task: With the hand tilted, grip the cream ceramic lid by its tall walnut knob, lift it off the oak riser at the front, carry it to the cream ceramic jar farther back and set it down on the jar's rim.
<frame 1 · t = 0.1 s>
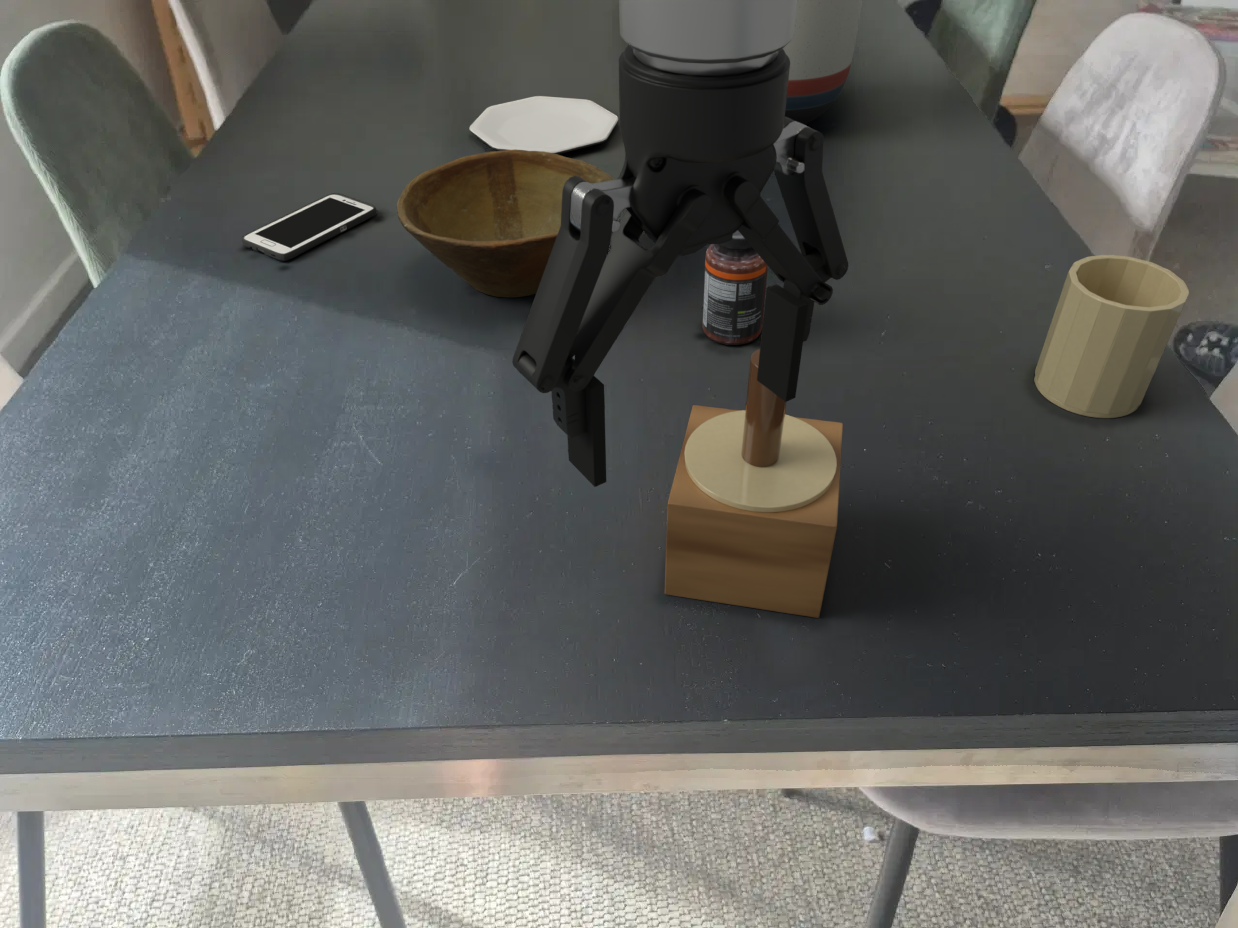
hand: (686, 428, 55), 17 cm above the table, tool pointing down, fingers open, 13 cm apart
jar: (1087, 387, 87), on the table
supplement bottle: (731, 333, 94), on the table
cell phone: (312, 231, 112), on the table
riser: (749, 551, 71), on the table
bowl: (517, 279, 103), on the table
lid: (759, 460, 65), point 9 cm above the table, touching riser
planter: (771, 123, 136), on the table
plate: (545, 134, 134), on the table
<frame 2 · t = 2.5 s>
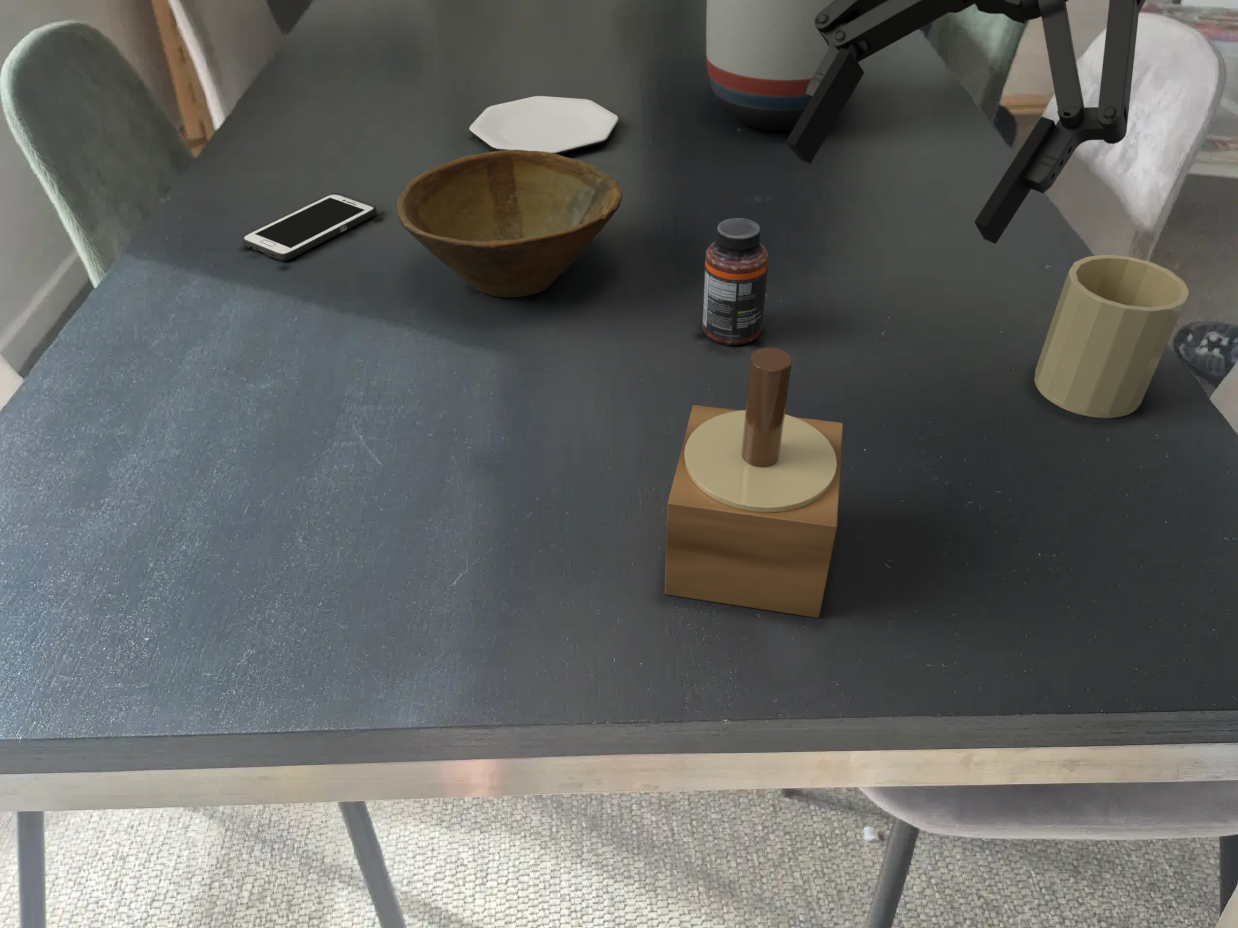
hand: (885, 191, 57), 27 cm above the table, tool tilted 40°, fingers open, 13 cm apart
nothing on the table moved.
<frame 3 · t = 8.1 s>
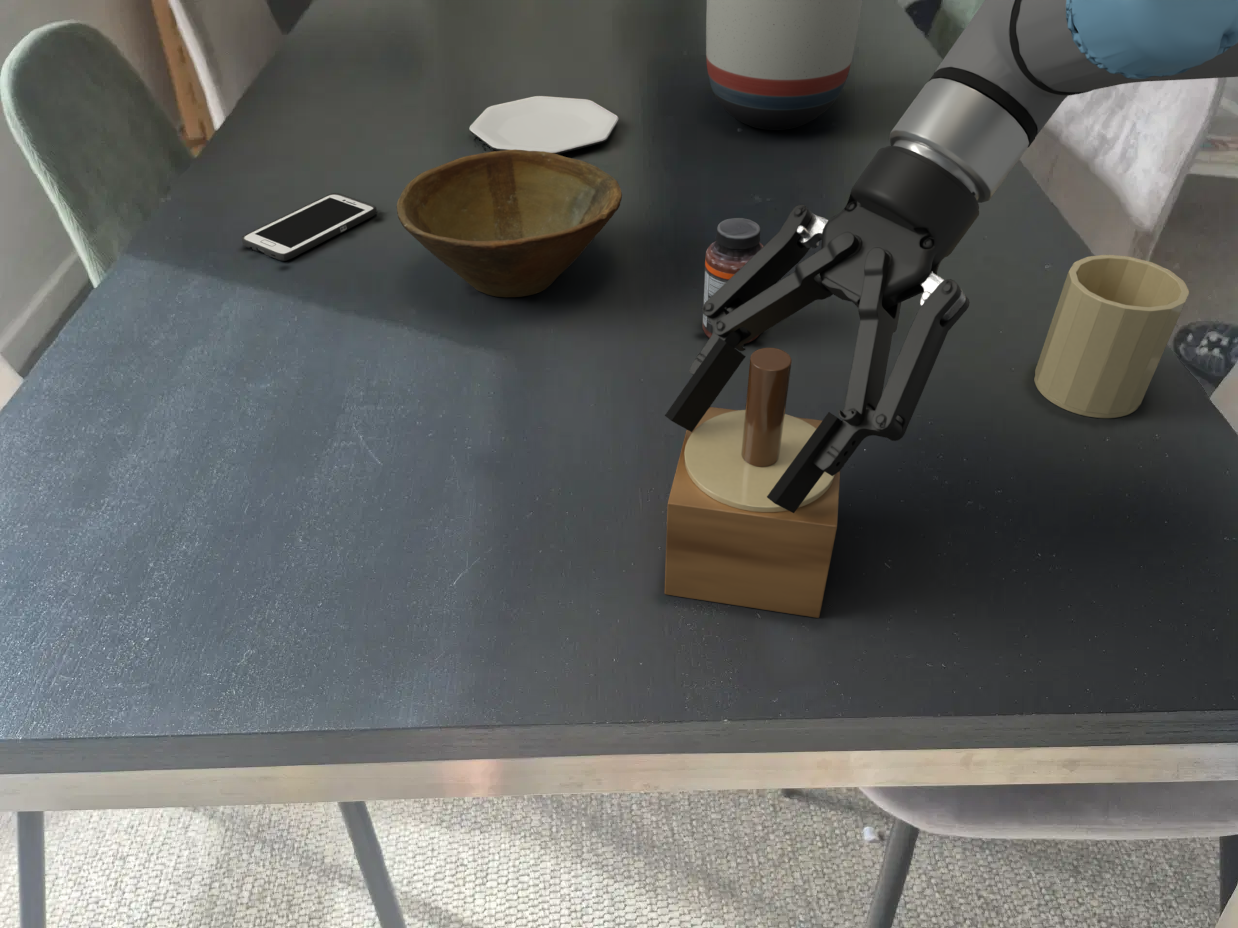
hand: (726, 462, 63), 10 cm above the table, tool tilted 45°, fingers closed on lid, 10 cm apart
lid: (759, 460, 65), point 9 cm above the table, touching gripper, riser
everything else where it was.
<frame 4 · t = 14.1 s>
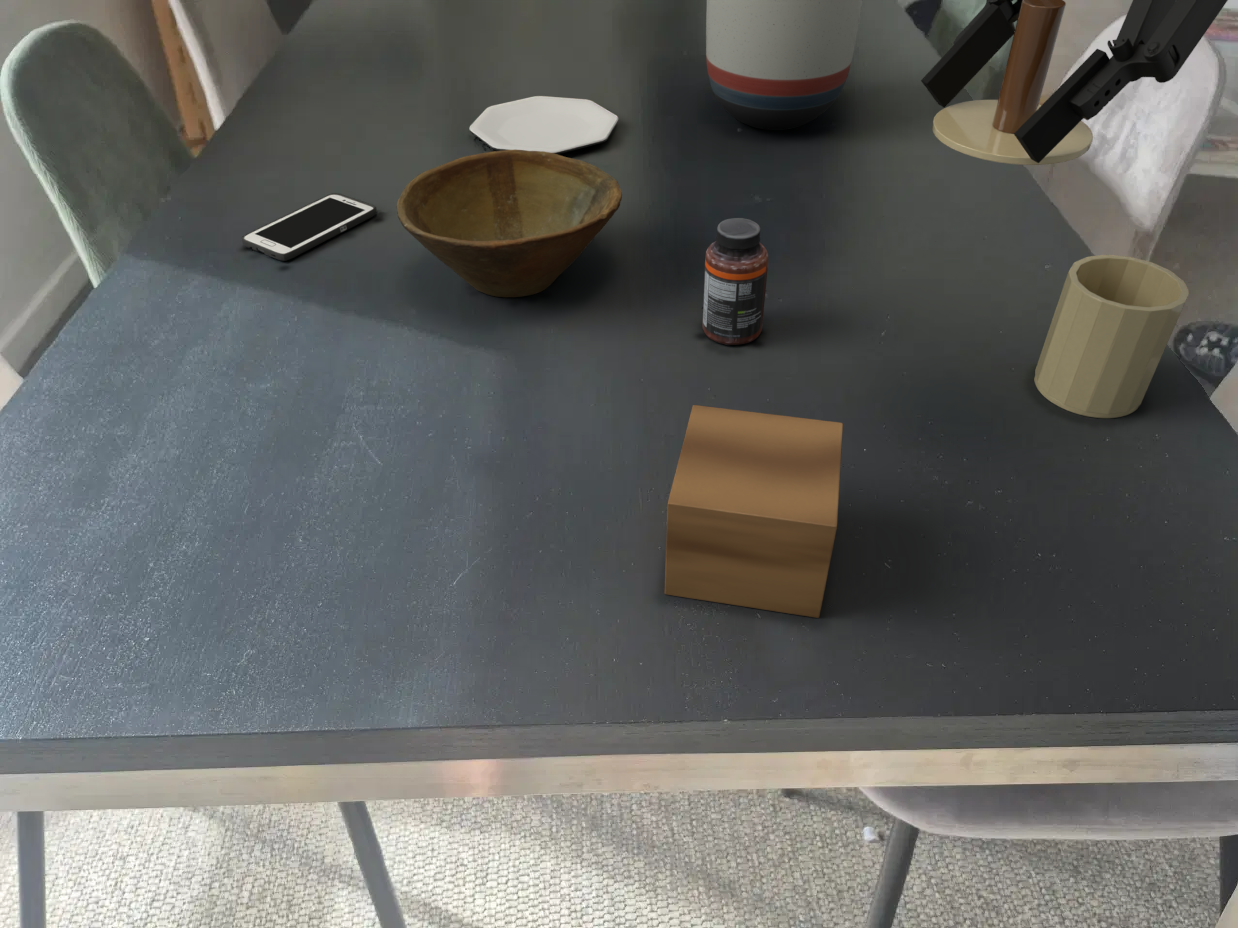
hand: (976, 120, 64), 27 cm above the table, tool tilted 45°, fingers closed on lid, 10 cm apart
lid: (1010, 134, 65), point 26 cm above the table, touching gripper
everything else where it was.
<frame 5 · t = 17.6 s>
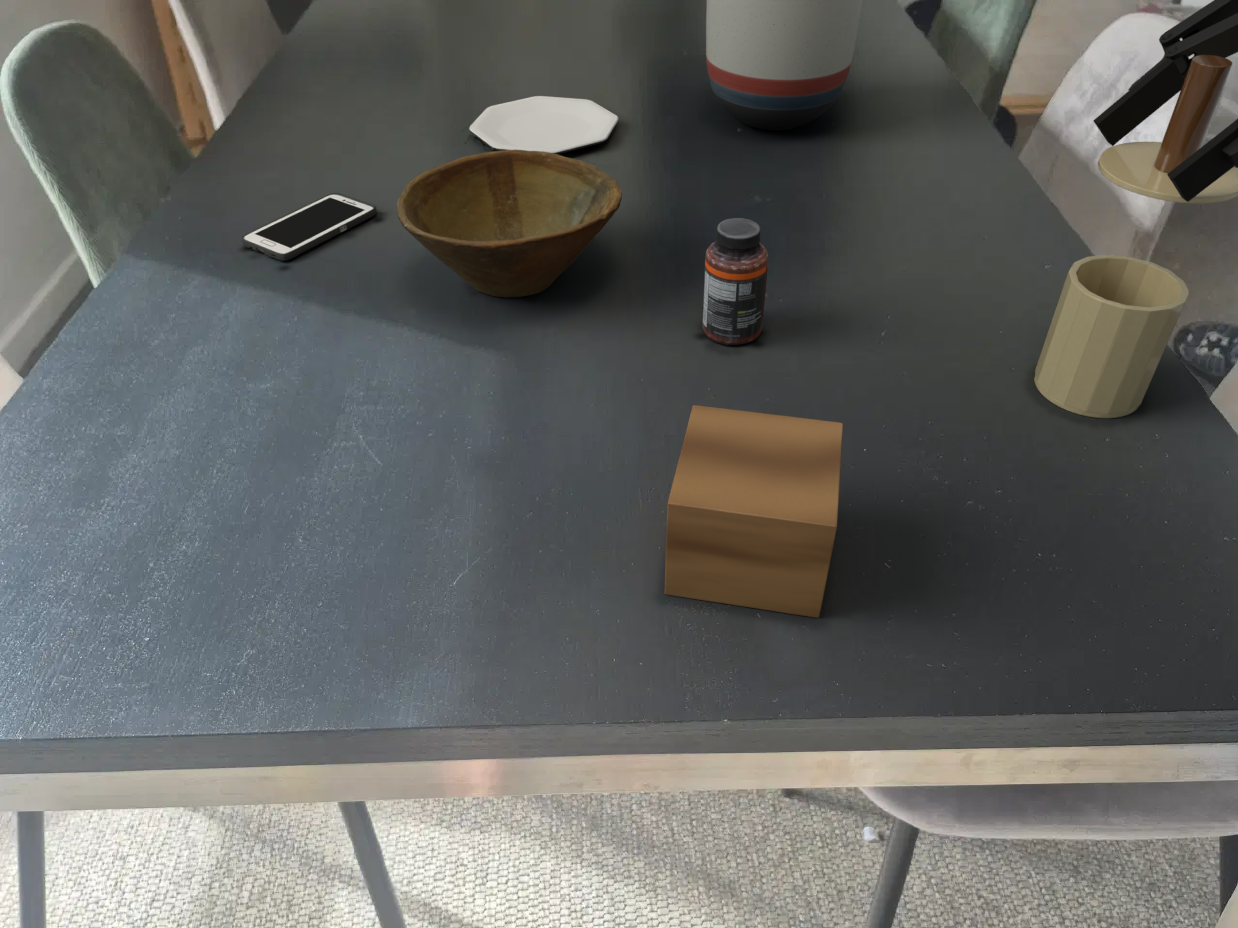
hand: (1138, 159, 72), 22 cm above the table, tool tilted 45°, fingers closed on lid, 10 cm apart
lid: (1169, 174, 73), point 20 cm above the table, touching gripper
everything else where it was.
when the fingers open (12 cm above the table, at t = 20.6 s): lid stays where it is, resting on jar.
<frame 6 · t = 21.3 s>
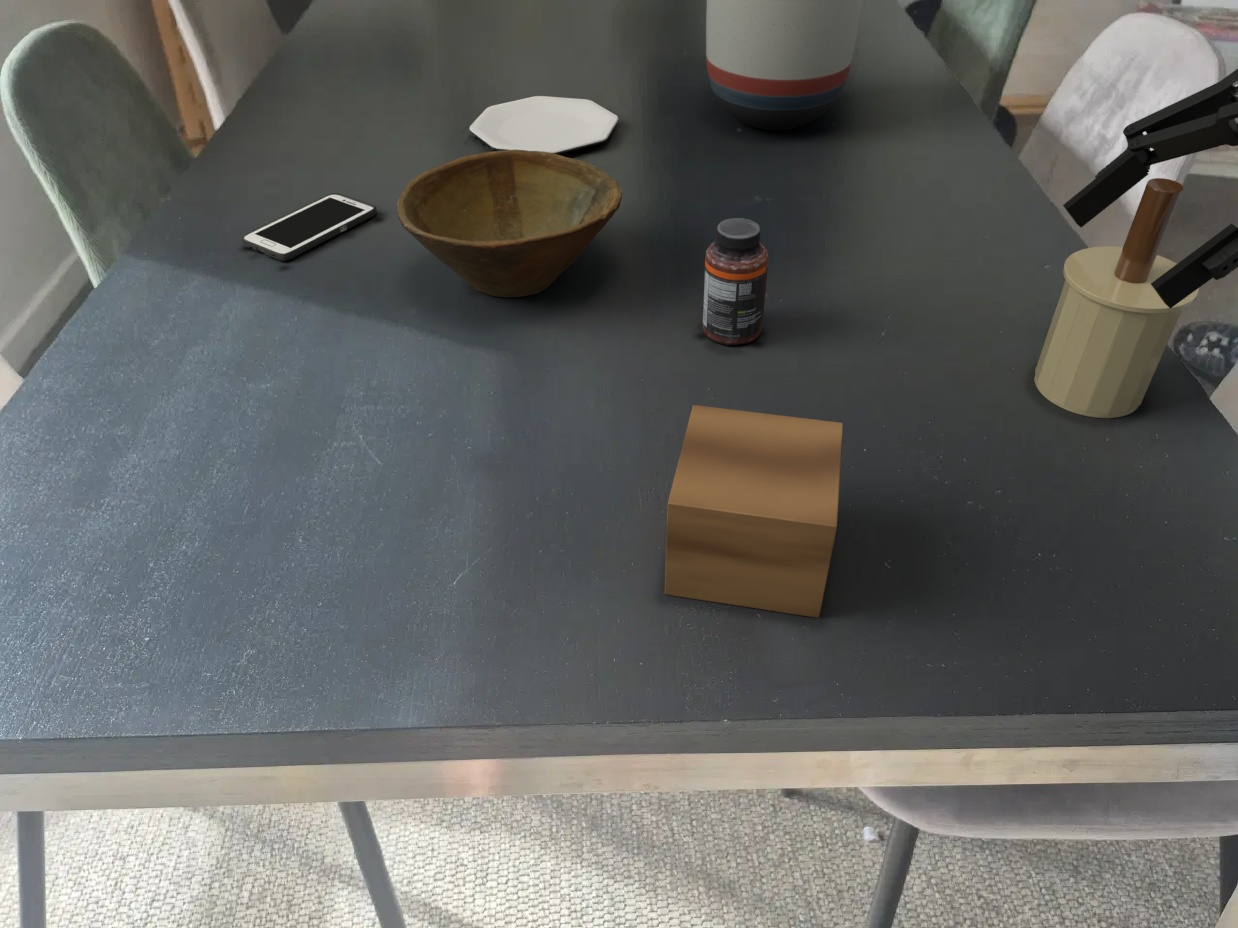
hand: (1112, 254, 78), 14 cm above the table, tool tilted 45°, fingers open, 13 cm apart
lid: (1128, 281, 80), point 11 cm above the table, touching jar
everything else where it was.
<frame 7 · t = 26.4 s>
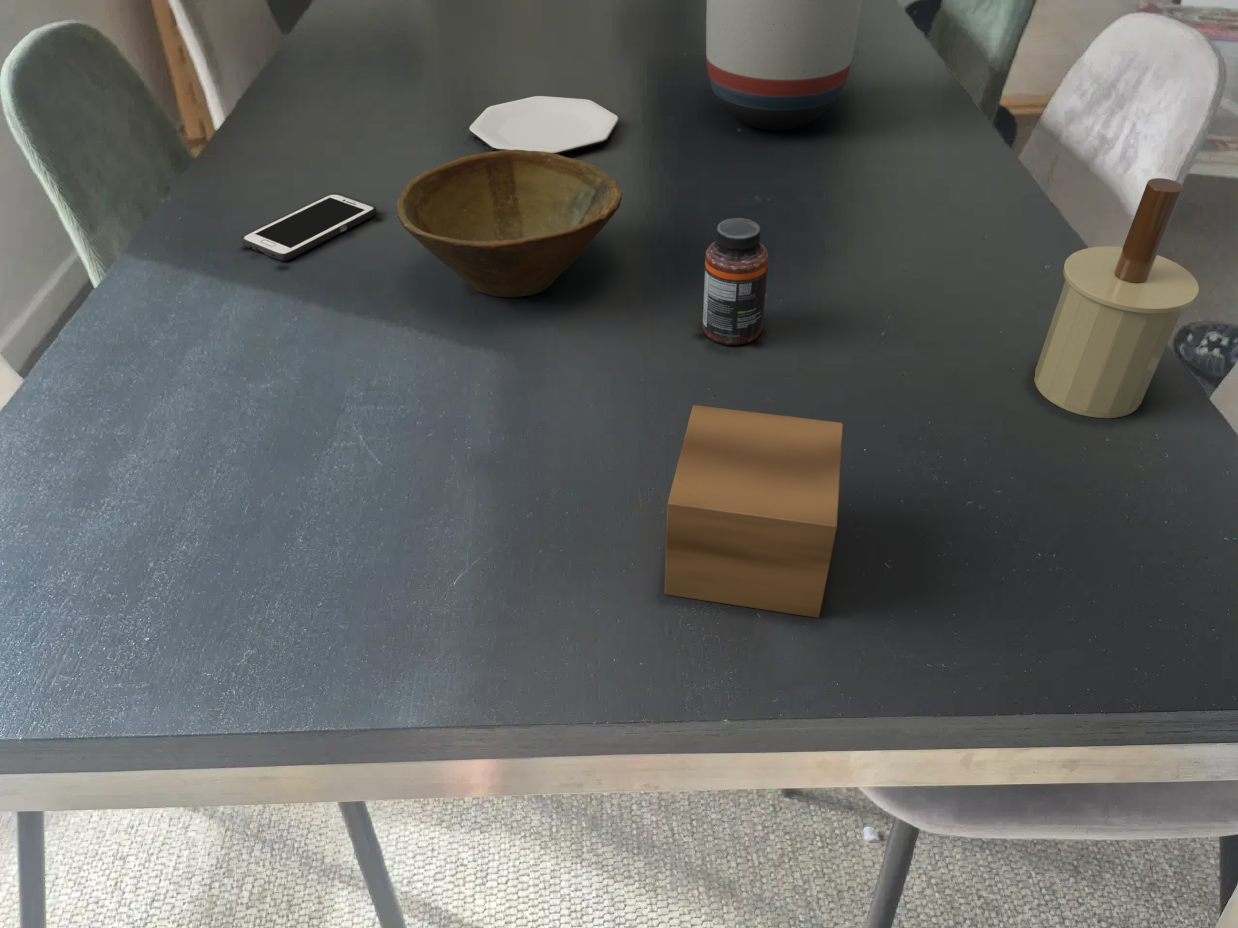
nothing on the table moved.
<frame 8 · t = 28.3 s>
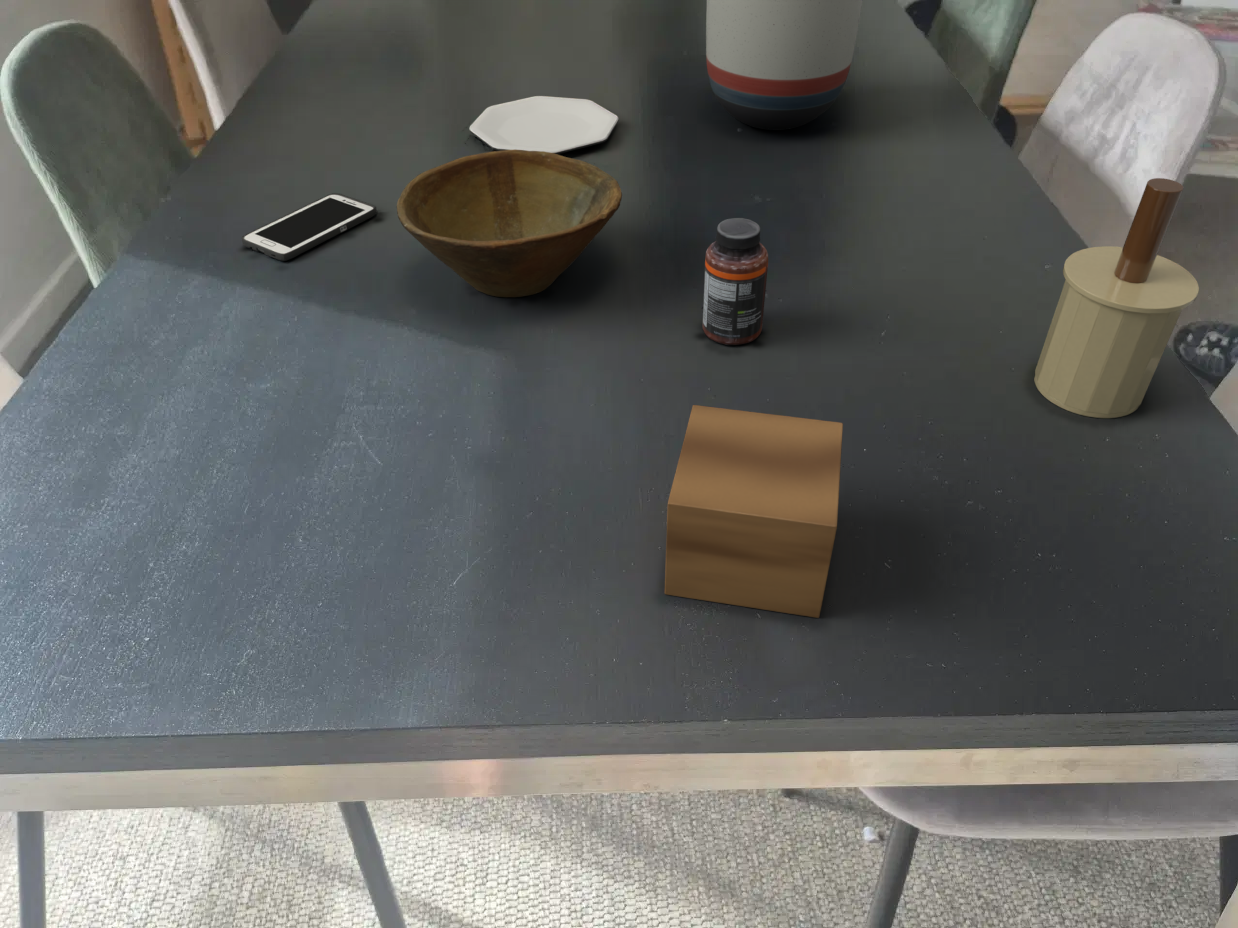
nothing on the table moved.
at the end: lid 0.1 cm off-centre on the jar, point 11.0 cm above the jar's base; lid tilted 0°; the gripper is holding nothing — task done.
